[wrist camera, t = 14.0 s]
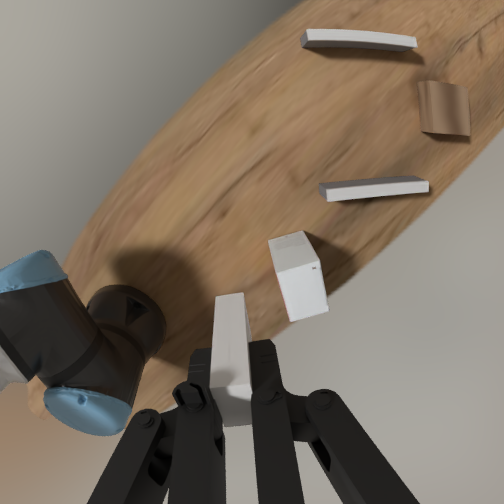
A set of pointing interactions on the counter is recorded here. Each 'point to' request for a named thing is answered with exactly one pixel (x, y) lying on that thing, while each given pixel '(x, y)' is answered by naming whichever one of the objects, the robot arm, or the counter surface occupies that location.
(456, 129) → the walnut block
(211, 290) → the counter surface
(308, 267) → the small box
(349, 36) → the corridor walls
